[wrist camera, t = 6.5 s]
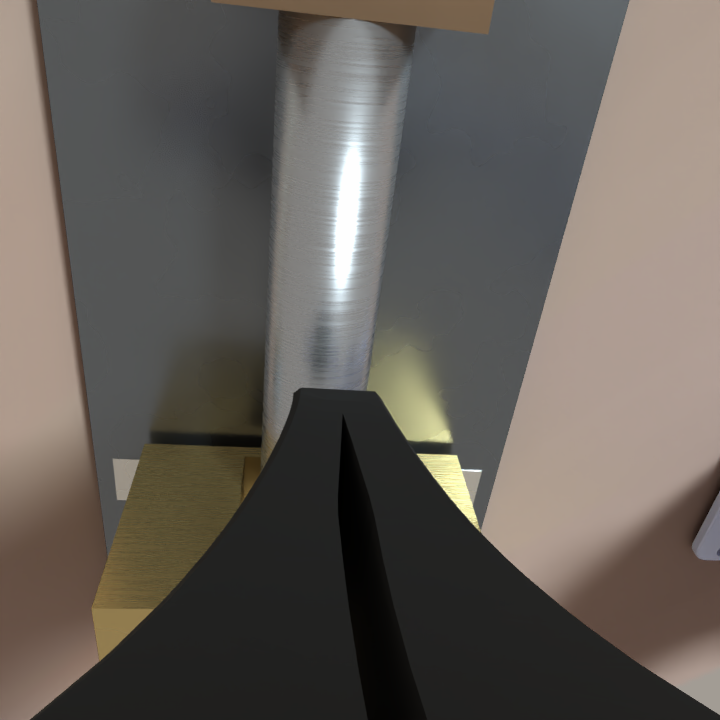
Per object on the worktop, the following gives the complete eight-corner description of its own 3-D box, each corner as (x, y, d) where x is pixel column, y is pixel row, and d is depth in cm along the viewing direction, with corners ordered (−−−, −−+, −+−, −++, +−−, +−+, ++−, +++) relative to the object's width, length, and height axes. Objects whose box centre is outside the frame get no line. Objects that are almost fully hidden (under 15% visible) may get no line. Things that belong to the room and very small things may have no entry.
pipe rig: (636, -72, 14) (761, -83, 10) (448, 617, 25) (474, 733, 21) (28, -158, 12) (-92, -208, 9) (121, 615, 24) (87, 739, 20)
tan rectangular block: (456, 454, 20) (505, 612, 15) (434, 549, 22) (471, 713, 17) (144, 443, 18) (91, 608, 14) (152, 544, 21) (108, 717, 16)
